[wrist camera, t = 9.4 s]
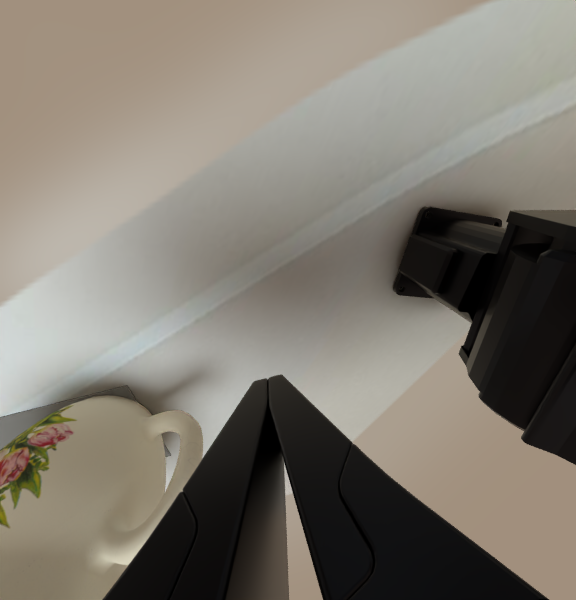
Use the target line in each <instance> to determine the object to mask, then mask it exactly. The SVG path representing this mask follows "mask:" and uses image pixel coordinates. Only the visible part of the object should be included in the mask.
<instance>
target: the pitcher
mask: <svg viewBox="0 0 576 600" xmlns="http://www.w3.org/2000/svg"><path fill="white" fill-rule="evenodd" d="M168 431H171V432H176V433H178V434H179V436H180V440H181V442H180V452H179V456H178V460H177V465H176V468H175V470H174V473H173V476H172V479H171V481H170V483H169V485H168V488H167V490H166V492H165V482H166V460H165V450H164V444H163V439H162V435H161V434H162V433H164V432H168ZM202 455H203V436H202V430H201V427H200V425H199V423H198V422H197V421H196V420H195V419H194V418H193V417H192V416H191V415H189V414H188V413H186V412H184V411H180V410H171V411H166V412H162V413H159V414H156V415H153V416H152V415H151V413H150V412H149V411H148V410H147V409H146V408H145V407H144V406H142V405H141V404H139V403H137V402H135V401H133V400H131V399H128V398H124V397H120V396H109V395H105V396H95V397H91V398H88V399H85V400H83V401H79V402H76V403H73V404H71V405H68V406H66V407H64V408H62V409H60V410H58V411H56V412H54V413H52V414H50V415H48V416H47V417H45V418H43V419H42V420H40V421H39V422H37V423H36V424H34V425H33V426H31V427H30V428H28V429H27V430H26V431H24V432H23V433H21V434H20V435H18V436H17V437H16V438H15V439H13V440H12V441H11V442H10V443H8V444H7V445H6V446H4V447H3V448H2V449H1V450H0V600H102V599H103V598H104V597H105V595H106V594H107V593H108V592H109V590H110V589H111V588H112V586H113V585H114V584H115V582H116V581H117V580H118V578H119V577H120V576H121V574H122V573H123V572H124V570H125V569H126V568H127V566H128V565H129V564H130V562H131V561H132V560H133V558H134V557H135V555H136V554H137V553H138V551H139V550H140V549H141V547H142V546H143V545H144V543H145V542H146V541H147V539H148V538H149V536H150V535H151V533H152V532H153V531H154V529H155V528H156V526H157V525H158V523H159V522H160V520H161V519H162V518H163V516H164V515H165V513H166V512H167V510H168V509H169V507H170V506H171V504H172V503H173V501H174V500H175V498H176V497H177V495H178V494H179V493H180V492H183V487H184V486H185V484H186V483H187V481H188V480H189V478H190V477H191V475H192V474H193V472H194V471H195V469H196V468H197V466H198V465H199V463H200V462H201V460H202ZM164 493H165V494H164Z"/></svg>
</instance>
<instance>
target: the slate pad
mask: <svg viewBox="0 0 576 600" xmlns="http://www.w3.org/2000/svg"><path fill="white" fill-rule="evenodd" d="M105 395H109V396H120V397H124V398H128V399H131V400H133V401H135V402H137V400H136V399H135V397H134V396H133V394H132V392H131V391H130V389H129V388H128V386H123V387H119V388H115V389H111V390H107V391H103V392H99V393H95V394H91V395H87V396H83V397H79V398H75V399H71V400H67V401H63V402H59V403H55V404H51V405H47V406H43V407H39V408H35V409H31V410H27V411H23V412H19V413H15V414H11V415H7V416H3V417H0V450H1V449H2V448H3V447H4V446H6V445H7V444H8V443H10V442H11V441H12V440H13V439H15V438H16V437H17V436H18V435H20V434H21V433H23V432H24V431H26V430H27V429H28V428H30V427H31V426H33V425H34V424H36V423H37V422H39V421H40V420H42V419H43V418H45V417H47V416H48V415H50V414H52V413H54V412H56V411H58V410H60V409H62V408H64V407H66V406H68V405H71V404H73V403H76V402H79V401H83V400H85V399H88V398H91V397H95V396H105ZM137 403H138V402H137ZM163 444H164V443H163ZM164 450H165V457H168V456H171V454H170V452H169V451H168V449H167V448H166V446H165V444H164Z"/></svg>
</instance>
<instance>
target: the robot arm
mask: <svg viewBox="0 0 576 600" xmlns="http://www.w3.org/2000/svg"><path fill="white" fill-rule="evenodd" d="M427 212H429V215H428V217H425V216H426V213H427ZM506 222H508V225H507V228H501V226H502V221H501V220H500V219H498V218H492V217H486V216H480V215H475V214H469V213H463V212H457V211H451V210H445V209H439V208H433V207H424V208H422V209H421V210H420V212H419V215H418V218H417V221H416V223H415V226H414V229H413V232H412V235H411V237H410V238H409V241H408V244H407V247H406V250H405V253H404V256H403V259H402V262H401V265H400V267H399V273H398V275H397V278H396V281H395V284H394V287H393V290H394V292H395V293H397V294H398V295H403V296H414V297H425V298H435V299H436V300H438V301H439V302H441V303H442V304H444V305H445V306H447V307H448V308H450V309H451V310H453V311H454V312H456V313H457V314H459V315H460V316H462V317H463V318H465V319H466V320H468V321H469V322H471V323H472V324H471V327H470V330H469V332H468V335H467V338H466V341H465V343H464V345H463V346H461V349H460V351H459V355H460V357H461V358H462V360H463V362H464V363H465V365H466V367H467V370H468V375H469V377H470V379H471V380H472V381H473V383H474V384H475V386H476V387H477V388H478V390H479V391H480V393H479V398H480V399H481V400H482V401H483V403H484V404H486V405H487V406H488V407H489V408H490V409H491V410H493V411H494V412H495V413H496V414H498V415H499V416H501V417H502V418H504V419H505V420H506V421H508V422H509V423H511V424H513V425H514V426H516V427H517V428H519V429H521V430H523V431H524V433H523V435H522V436H521V439H522V440H523V441H524V442H525V443H527V444H529V445H531V446H534V447H537V448H539V449H542V450H545V451H547V452H550V453H553V454H555V455H558V456H559V457H561V458H563V459H566V460H567V461H569V462H571V463H573V464H575V465H576V210H529V211H510V213H509V216H508V218H507V221H506ZM493 224H494V226H493ZM401 286H402V289H401V290H399V288H400V287H401ZM284 463H285V466H286V470H287V473H288V477H289V480H290V484H291V487H292V491H293V495H294V498H295V502H296V505H297V509H298V512H299V515H300V519H301V523H302V526H303V530H304V533H305V537H306V541H307V544H308V547H309V551H310V555H311V558H312V562H313V565H314V569H315V572H316V576H317V580H318V583H319V587H320V590H321V593H322V597H323V600H549V599H547V598H546V597H545V596H544V595H542V594H541V593H540V592H539V591H537V590H536V589H534V588H533V587H532V586H531V585H529V584H528V583H527V582H525V581H524V580H523V579H521V578H520V577H519V576H518V575H516V574H515V573H514V572H512V571H511V570H510V569H508V568H507V567H506V566H505V565H503V564H502V563H501V562H499V561H498V560H497V559H495V558H494V557H493V556H491V555H490V554H489V553H488V552H486V551H485V550H484V549H482V548H481V547H480V546H478V545H477V544H476V543H475V542H473V541H472V540H471V539H469V538H468V537H466V536H465V535H464V534H463V533H461V532H460V531H459V530H458V529H456V528H455V527H454V526H452V525H451V524H450V523H448V522H447V521H446V520H444V519H443V518H442V517H440V516H439V515H438V514H437V513H435V512H434V511H433V510H431V509H430V508H428V506H426V505H425V504H423V503H422V502H421V501H420V500H418V499H417V498H416V497H415V496H413V495H412V494H411V493H410V492H408V491H407V490H406V489H405V488H403V487H402V486H401V485H400V484H398V483H397V482H396V481H394V480H393V479H392V478H391V477H390V476H388V475H387V474H386V473H385V472H384V471H383V470H382V469H381V468H380V467H378V466H377V465H376V464H375V463H374V462H373V461H372V460H371V459H370V458H368V457H367V456H366V455H365V454H364V453H363V452H362V451H361V450H360V449H359V448H358V447H357V446H356V445H354V444H353V443H352V442H351V441H350V440H349V439H348V438H347V437H346V436H345V435H344V434H343V433H342V432H341V431H340V430H339V429H338V428H337V427H336V426H335V425H334V424H333V423H332V422H331V421H329V420H328V419H327V418H326V417H325V416H324V415H323V414H322V413H321V412H320V411H319V410H318V409H317V408H316V407H315V406H314V405H313V404H312V403H311V402H310V401H309V400H308V399H307V398H306V397H305V396H304V395H303V394H302V393H301V392H299V391H298V390H297V389H296V388H295V387H294V386H293V385H292V384H291V383H290V382H289V381H288V380H287V379H286V378H285V377H284V376H283V375H276V376H273V377H270V378H269V379H266V378H265V379H261V380H257V381H254V382H253V383H252V385H251V386H250V388H249V389H248V391H247V392H246V394H245V395H244V397H243V398H242V400H241V401H240V403H239V404H238V406H237V407H236V409H235V410H234V412H233V413H232V415H231V417H230V418H229V420H228V421H227V423H226V424H225V426H224V427H223V429H222V430H221V432H220V433H219V435H218V436H217V438H216V439H215V441H214V442H213V444H212V445H211V447H210V448H209V450H208V451H207V453H206V454H205V456H204V457H203V459H202V460H201V462H200V463H199V465H198V466H197V468H196V469H195V471H194V472H193V474H192V475H191V477H190V478H189V480H188V481H187V483H186V484H185V486H184V487H183V492H180V493H179V494H178V495H177V497H176V498H175V500H174V501H173V503H172V504H171V506H170V507H169V509H168V510H167V512H166V513H165V515H164V516H163V518H162V519H161V520H160V522H159V523H158V525H157V526H156V528H155V529H154V531H153V532H152V533H151V535H150V536H149V538H148V539H147V541H146V542H145V543H144V545H143V546H142V547H141V549H140V550H139V551H138V553H137V554H136V555H135V557H134V558H133V560H132V561H131V562H130V564H129V565H128V566H127V568H126V569H125V570H124V572H123V573H122V574H121V576H120V577H119V578H118V580H117V581H116V582H115V584H114V585H113V586H112V588H111V589H110V590H109V592H108V593H107V594H106V595H105V597H104V598H103V599H102V600H289V586H288V559H287V534H286V506H285V479H284Z"/></svg>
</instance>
